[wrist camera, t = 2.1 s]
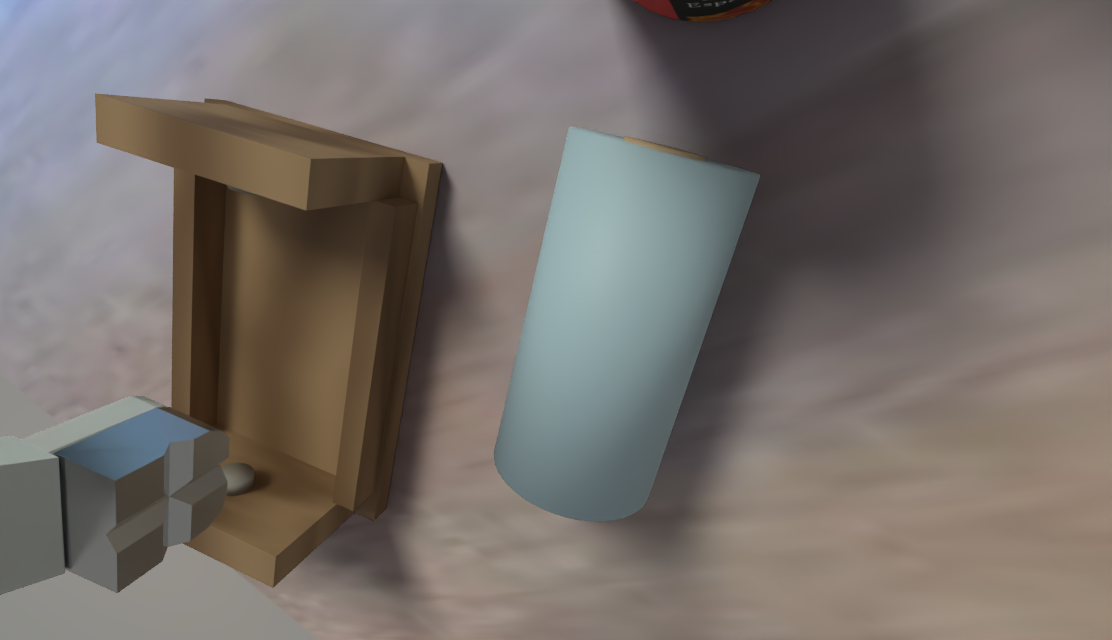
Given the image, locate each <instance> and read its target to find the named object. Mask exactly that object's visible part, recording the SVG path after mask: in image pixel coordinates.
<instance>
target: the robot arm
mask: <svg viewBox="0 0 1112 640" xmlns="http://www.w3.org/2000/svg"><path fill="white" fill-rule="evenodd" d="M228 457H229V437H228V436H227V435H226V434H225V433H224V432H222V431H221V430H219V429H217V428H215V427H213V426H211V425H208V424H206V423H204V422H202V421H199V420H197V419H195V418H193V417H191V416H188V415H186V414H184V413H182V412H179V411H177V410H175V409H173V408H171V407H166V406H164V405H162V404H160V403H158V402H156V401H153V400H151V399H149V398H147V397H145V396H129V397H126V398H124V399H121V400H118V401H116V402H113V403H111V404H108V405H106V406H103V407H101V408H98V409H96V410H93V411H91V412H88V413H86V414H83V415H81V416H78V417H76V418H73V419H71V420H68V421H66V422H63V423H61V424H58V425H56V426H53V427H51V428H48V429H46V430H43V431H41V432H38V433H36V434H33V435H31V436H28V437H26V438H23V439H21V440H20V439H17V438H15V437H13V436H7V437H0V595H1V594H4V593H7V592H10V591H13V590H16V589H19V588H22V587H25V586H28V585H31V584H34V583H37V582H40V581H43V580H46V579H49V578H52V577H55V576H58V575H61V574H64V573H65V569H66V570H68V571H70V572H72V573H75V574H77V575H79V576H81V577H83V578H85V579H87V580H90V581H92V582H94V583H96V584H98V585H100V586H103V587H105V588H107V589H109V590H111V591H114V592H116V593H118V592H120V591H121V590H122V589H124V588H125V587H127V586H128V585H130V584H131V583H132V582H134V581H135V580H137V579H138V578H139V577H141V576H142V575H144V574H145V573H146V572H148V571H149V570H151V569H152V568H153V567H155V566H156V565H158V564H159V563H161V562H162V560H163V558H164V555H165V553H166V550H167V547H169V546H173V545H177V544H181V543H185V542H189V541H191V540H192V539H194V538H195V537H196V536H198V535H199V534H200V533H202V532H203V531H204V530H206V529H207V528H208V527H209V526H210V524H211V523H212V522H213V520H214V519H215V518H216V516H217V515H218V514H219V513H220V511H221V509H222V507H223V504H224V501H225V498H226V496H227V484H228V481H227V479H226V477H225V475H224V473H223V470H222V468H221V466H220V465H221V464H222V463H223V462H224V461H225V460H226V459H227V458H228Z"/></svg>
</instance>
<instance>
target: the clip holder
mask: <svg viewBox="0 0 1112 640" xmlns="http://www.w3.org/2000/svg"><path fill="white" fill-rule="evenodd" d="M95 103H96V133H97V143H100V144H103V145H106V146H109V147H112V148H115V149H118V150H121V151H124V152H128V153H131V154H134V155H137V156H140V157H143V158H146V159H149V160H152V161H155V162H158V163H161V164H164V165H168V166H171V167H174V222H173V322H172V408H173V409H175V410H177V411H179V412H182V413H184V414H186V415H188V416H191V417H193V418H195V419H197V420H199V421H202V422H204V423H206V424H208V425H211V426H213V427H215V428H217V429H219V430H221V431H222V432H224V433H225V434H226V435H227V436H228V437H229V457H228V458H227V459H226V460H225V461H224V462H223V463H222V464H221V465H220V466H221V468H222V470H223V473H224V475H225V477H226V479H227V481H228V484H227V496H226V498H225V501H224V504H223V507H222V509H221V511H220V513H219V514H218V515H217V516H216V518H215V519H214V520H213V522H212V523H211V524H210V526H209V527H208V528H207V529H206V530H204V531H203V532H202V533H200V534H199V535H198V536H196V537H195V538H194V539H192V540H191V541H189V542H185V543H183V544H185V545H187V546H189V547H191V548H193V549H195V550H197V551H199V552H201V553H203V554H205V555H207V556H210V557H212V558H213V559H215V560H218V561H220V562H222V563H224V564H226V565H228V566H230V567H232V568H234V569H236V570H238V571H240V572H242V573H244V574H246V575H248V576H250V577H252V578H254V579H256V580H258V581H260V582H262V583H264V584H266V585H268V586H270V587H272V588H273V587H275V586H276V585H277V584H278V583H279V582H280V581H281V580H282V579H283V578H284V577H285V576H286V575H287V574H289V573H290V572H291V571H292V570H293V569H294V568H295V567H296V566H297V565H298V564H299V563H300V562H302V561H303V560H304V559H305V558H306V557H307V556H308V555H309V554H310V553H311V552H312V551H313V550H314V549H316V548H317V547H318V546H319V545H320V544H321V543H322V542H323V541H324V540H325V539H326V538H327V537H329V536H330V535H331V534H332V533H333V532H334V531H335V530H336V529H337V528H338V527H339V526H340V525H342V524H343V523H344V522H345V521H346V520H347V519H348V518H349V517H350V516H351V515H352V514H353V513H357V514H359V515H361V516H363V517H366V518H368V519H370V520H372V521H374V520H375V519H376V518H377V517H378V516H379V515H380V514H381V513H382V512H383V511H384V510H385V509H386V506H387V499H388V493H389V487H390V481H391V475H392V469H393V463H394V457H395V451H396V445H397V438H398V432H399V426H400V420H401V414H402V408H403V402H404V396H405V390H406V383H407V377H408V371H409V365H410V359H411V353H412V347H413V341H414V335H415V328H416V322H417V316H418V310H419V304H420V298H421V292H422V286H423V280H424V274H425V267H426V261H427V255H428V249H429V243H430V237H431V231H432V225H433V219H434V212H435V206H436V200H437V194H438V188H439V182H440V176H441V170H442V164H443V163H441V162H437V161H434V160H430V159H427V158H423V157H420V156H416V155H413V154H410V153H406V152H403V151H399V150H396V149H392V148H389V147H385V146H382V145H378V144H375V143H371V142H368V141H364V140H361V139H357V138H354V137H351V136H347V135H344V134H340V133H337V132H333V131H330V130H326V129H323V128H319V127H316V126H312V125H309V124H305V123H302V122H298V121H295V120H292V119H288V118H285V117H281V116H278V115H274V114H271V113H267V112H264V111H260V110H257V109H253V108H250V107H246V106H243V105H239V104H236V103H233V102H229V101H226V100H215V99H205V103H201V102H189V101H177V100H165V99H153V98H141V97H129V96H117V95H105V94H95Z"/></svg>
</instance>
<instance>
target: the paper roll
mask: <svg viewBox="0 0 1112 640" xmlns="http://www.w3.org/2000/svg"><path fill="white" fill-rule="evenodd" d="M759 179H760V175H759V174H757V173H754V172H751V171H748V170H745V169H742V168H738V167H735V166H732V165H728V164H725V163H721V162H718V161H714V160H710V159H707V158H705V157H704V156H701V155H698V154H694V153H691V152H687V151H684V150H680V149H676V148H672V147H668V146H664V145H661V144H657V143H652V142H648V141H644V140H640V139H635V138H631V137H625V136H624V137H620V136H616V135H612V134H607V133H603V132H598V131H593V130H589V129H584V128H578V127H569V130H568V134H567V139H566V143H565V147H564V152H563V156H562V160H561V165H560V169H559V173H558V177H557V182H556V186H555V190H554V195H553V199H552V203H551V208H550V212H549V216H548V221H547V225H546V229H545V234H544V238H543V242H542V247H541V251H540V255H539V260H538V264H537V268H536V273H535V277H534V281H533V286H532V290H531V294H530V299H529V303H528V307H527V311H526V316H525V320H524V324H523V329H522V333H521V337H520V342H519V346H518V350H517V355H516V359H515V363H514V368H513V372H512V376H511V381H510V385H509V389H508V394H507V398H506V402H505V407H504V411H503V415H502V420H501V424H500V428H499V433H498V437H497V441H496V446H495V450H494V461H495V465H496V467H497V470H498V472H499V474H500V475H501V477H502V478H503V480H504V481H505V482H506V483H507V485H508V486H509V487H511V488H512V489H513V490H514V491H515V492H516V493H517V494H519V495H520V496H521V497H523V498H524V499H526V500H527V501H529V502H530V503H532V504H534V505H536V506H538V507H540V508H542V509H544V510H546V511H549V512H551V513H554V514H557V515H560V516H563V517H567V518H571V519H576V520H583V521H595V522H602V521H613V520H619V519H622V518H625V517H628V516H630V515H632V514H634V513H636V512H637V511H639V510H640V509H641V508H642V507H643V506H644V505H645V503H646V502H647V500H648V497H649V495H650V492H651V489H652V486H653V483H654V480H655V477H656V474H657V472H658V469H659V466H660V463H661V460H662V457H663V454H664V452H665V449H666V446H667V443H668V440H669V437H670V434H671V431H672V429H673V426H674V423H675V420H676V417H677V414H678V411H679V408H680V406H681V403H682V400H683V397H684V394H685V391H686V388H687V386H688V383H689V380H690V377H691V374H692V371H693V368H694V365H695V363H696V360H697V357H698V354H699V351H700V348H701V345H702V342H703V340H704V337H705V334H706V331H707V328H708V325H709V322H710V319H711V317H712V314H713V311H714V308H715V305H716V302H717V299H718V297H719V294H720V291H721V288H722V285H723V282H724V279H725V276H726V274H727V271H728V268H729V265H730V262H731V259H732V256H733V253H734V251H735V248H736V245H737V242H738V239H739V236H740V233H741V231H742V228H743V225H744V222H745V219H746V216H747V213H748V210H749V208H750V205H751V202H752V199H753V196H754V193H755V190H756V187H757V185H758V182H759Z"/></svg>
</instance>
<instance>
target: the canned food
mask: <svg viewBox="0 0 1112 640" xmlns="http://www.w3.org/2000/svg"><path fill="white" fill-rule="evenodd" d="M634 1H635V2H637V3H638V4H640V5H641V6H643V7H645V8H646V9H648V10H649V11H652V12H655V13H657V14H660V15H663V16H666V17H669V18H671V19H676V20H684V21H693V22H706V21H716V20H726V19H729V18H732V17H735V16H738V15H742V14H745V13H748V12H751V11H753V10H755V9H757V8H759V7H761V6H763V5H764V4H766V3H768V2H770V1H772V0H634Z"/></svg>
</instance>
